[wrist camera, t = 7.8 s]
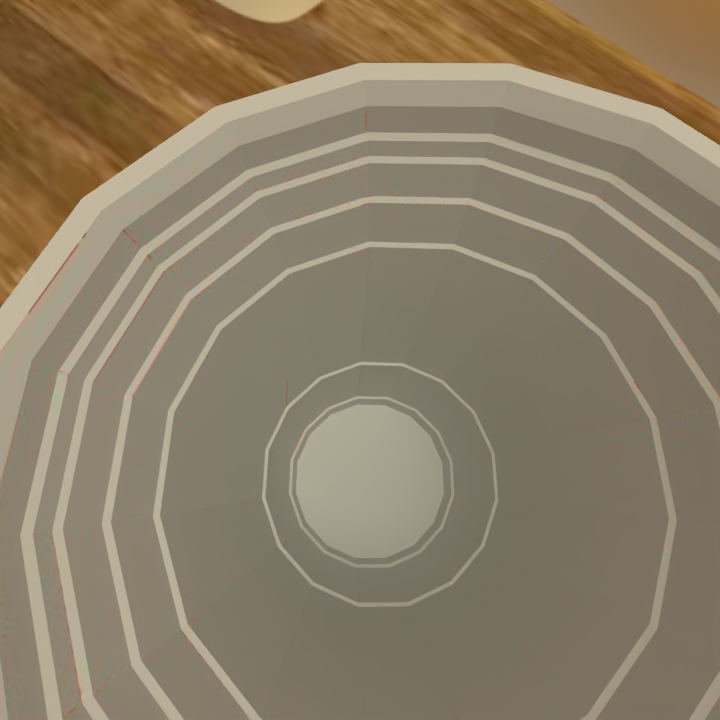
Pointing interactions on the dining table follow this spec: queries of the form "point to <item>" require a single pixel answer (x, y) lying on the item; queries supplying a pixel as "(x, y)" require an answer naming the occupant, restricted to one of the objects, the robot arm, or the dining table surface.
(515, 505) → the plastic cup
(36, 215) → the dining table surface
